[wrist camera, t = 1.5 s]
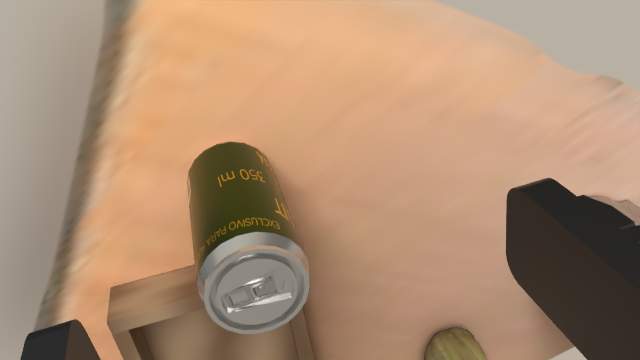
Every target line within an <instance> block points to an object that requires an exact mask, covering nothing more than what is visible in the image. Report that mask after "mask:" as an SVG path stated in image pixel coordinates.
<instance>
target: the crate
mask: <svg viewBox="0 0 640 360" xmlns="http://www.w3.org/2000/svg"><path fill="white" fill-rule="evenodd" d="M107 324H108V326H109V329H110V331H111V333H112V335H113V337H114V339H115V342H116V344H117V346H118V348H119V350H120V353H121V355H122V357H123V359H124V360H314V358H313V353H312V348H311V344H310V339H309V335H308V330H307V326H306V321H305V316H304V312H303V307H302V308H301V310H300V311H299V313H298V314H296V315H295V316H294V317H293V318H292V319H291V320H290V321H288V322H287V323H286V324H284V325H282V326H280V327H278V328H276V329H274V330H271V331H267V332H263V333H259V334H240V333H236V332H232V331H229V330H226V329H224V328H223V327H221V326H220V325H218V324H216V323H215V322H214V321H213V319H212V318H211V317H210V315H209V314H208V313H207V311H206V307H205V305H204V304H203V302H202V301H201V299H200V296H199V292H198V288H197V281H196V270H195V265H193V266H189V267H185V268H182V269H178V270H174V271H171V272H167V273H163V274H159V275H156V276H152V277H148V278H145V279H141V280H137V281H134V282H130V283H126V284H123V285H119V286H115V287H112V288H111V291H110V300H109V308H108V317H107Z"/></svg>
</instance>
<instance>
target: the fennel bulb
mask: <svg viewBox="0 0 640 360" xmlns="http://www.w3.org/2000/svg"><path fill="white" fill-rule="evenodd" d="M424 360H487V359H486V356H485V354H484V352H483V350H482V348H481V347H480V345H479V344H478V343H477V341H476V340H475V339H474V336H473V335H472V334H471V333H470V332H469V331H468V330H465V329H463V328H450V329H448V330H446V331H442V332H440V333H438V334H436V335H435V336H434V337H433V338H432V340H431V342H430V344H429V345H428V347H427V349H426V352H425V358H424Z"/></svg>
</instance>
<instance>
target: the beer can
mask: <svg viewBox="0 0 640 360" xmlns="http://www.w3.org/2000/svg"><path fill="white" fill-rule="evenodd" d="M187 187H188V198H189V208H190V218H191V229H192V239H193V250H194V260H195V270H196V281H197V288H198V292H199V296H200V299H201V301H202V302H203V304H204V305H205V307H206V311H207V313H208V314H209V315H210V317H211V318H212V319H213V321H214V322H215V323H216V324H218V325H220V326H221V327H223V328H224V329H226V330H229V331H232V332H236V333H240V334H259V333H263V332H267V331H271V330H274V329H276V328H278V327H280V326H282V325H284V324H286V323H287V322H288V321H290V320H291V319H292V318H293V317H294V316H295V315H296V314H298V313H299V311H300V310H301V308H302V307H303V305H304V304H305V302H306V300H307V296H308V293H309V289H310V285H309V275H310V273H309V265H308V259H307V257H306V254H305V252H304V249H303V246H302V244H301V241H300V239H299V236H298V234H297V231H296V229H295V226H294V224H293V221H292V218H291V216H290V213H289V211H288V208H287V206H286V203H285V201H284V198H283V196H282V193H281V190H280V188H279V185H278V183H277V180H276V178H275V175H274V173H273V170H272V168H271V166H270V164H269V162H268V160H267V158H266V157H265V156H264V155H263V154H262V153H261V152H260V151H259V150H257V149H256V148H254V147H252V146H249V145H247V144H245V143H236V142H225V143H220V144H216V145H214V146H212V147H210V148H208V149H206V150H205V151H204V152H203V153H202V154H200V155H199V156H198V157H197V158H196V159H195V160H194V162H193V164H192V166H191V168H190V170H189V173H188V181H187Z"/></svg>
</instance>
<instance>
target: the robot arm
mask: <svg viewBox="0 0 640 360" xmlns="http://www.w3.org/2000/svg"><path fill="white" fill-rule="evenodd" d="M506 257H507V262H508V265H509V268H510V270H511V273H512V275H513V276H514V278H515V280H516V281H517V283H518V284H519V285H520V286H521V287H522V288H523V289H524V290H525V292H526V293H527V294H528V295H529V296H530V297H531V298H532V299H533V300H534V301H535V303H536V304H537V305H538V306H539V307H540V308H541V309H542V310H543V311H544V312H545V314H546V315H547V316H548V317H549V318H550V319H551V320H552V321H553V322H554V324H555V325H556V326H557V327H558V328H559V329H560V330H561V331H562V332H563V333H564V335H565V336H566V337H567V338H568V339H569V340H570V341H571V342H572V343H573V344H574V346H575V347H576V348H577V349H578V350H579V351H580V352H581V353H582V354H583V355H584V357H585V358H586V359H587V360H640V207H638V206H637V205H635V204H634V203H632V202H631V201H629V200H626V201H623V202H616V201H614V200H612V199H609V198H607V197H602V196H589V197H587V196H585V195H582V196H578V197H577V196H576V195H574V194H573V193H572V192H570V191H569V190H568V189H566V188H565V187H564V186H562V185H561V184H560V183H558V182H557V181H555V180H554V179H551V178H545V179H542V180H539V181H536V182H532V183H529V184H526V185H522V186H519V187H516V188H512V189H511V190H510V191H509V192H508V195H507V214H506ZM21 360H101V359H100V357H99V355H98V354H97V352H96V350H95V348H94V346H93V344H92V342H91V340H90V338H89V336H88V334H87V332H86V331H85V329H84V327H83V325H82V324H81V323H80V322H79V321H78V320H76V319H75V320H71V321H68V322H65V323H61V324H58V325H55V326H51V327H48V328H45V329H41V330H38V331H35V332H32V333H29V334H28V336H27V338H26V340H25V344H24V348H23V352H22V356H21Z"/></svg>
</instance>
